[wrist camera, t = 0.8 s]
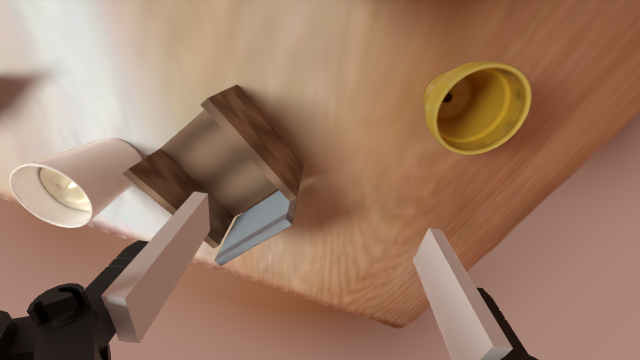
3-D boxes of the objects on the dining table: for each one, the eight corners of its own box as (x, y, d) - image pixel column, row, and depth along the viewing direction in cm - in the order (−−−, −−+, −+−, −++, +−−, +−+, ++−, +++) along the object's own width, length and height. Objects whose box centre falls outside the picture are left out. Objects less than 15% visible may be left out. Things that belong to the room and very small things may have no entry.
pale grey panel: (236, 217, 44) (214, 260, 35) (294, 179, 40) (285, 218, 31) (241, 221, 45) (220, 265, 36) (299, 185, 41) (292, 224, 32)
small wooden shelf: (166, 145, 41) (122, 173, 32) (236, 84, 36) (207, 98, 27) (234, 210, 47) (213, 248, 38) (303, 165, 42) (296, 197, 33)
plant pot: (419, 141, 40) (444, 168, 31) (400, 77, 35) (424, 89, 27) (488, 114, 37) (535, 135, 29) (477, 42, 33) (530, 42, 24)
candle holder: (77, 133, 40) (-10, 165, 30) (136, 131, 40) (68, 163, 30) (105, 185, 45) (38, 228, 35) (157, 184, 45) (106, 227, 34)
